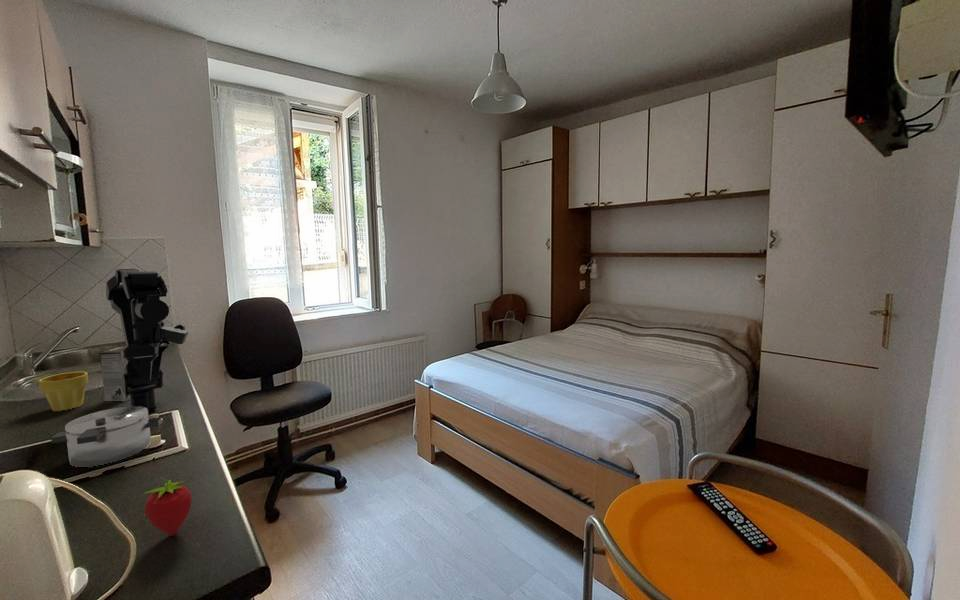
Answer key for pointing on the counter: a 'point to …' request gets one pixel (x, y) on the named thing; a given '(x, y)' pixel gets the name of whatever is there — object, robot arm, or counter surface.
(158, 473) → the counter surface
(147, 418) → the cooker pot
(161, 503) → the strawberry
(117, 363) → the coffee box
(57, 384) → the plant pot
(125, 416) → the cooker lid
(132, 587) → the counter surface
